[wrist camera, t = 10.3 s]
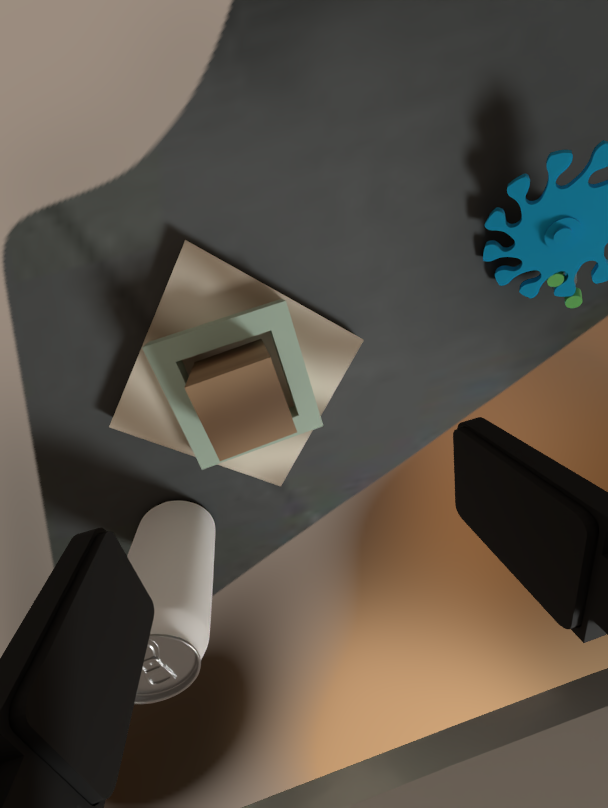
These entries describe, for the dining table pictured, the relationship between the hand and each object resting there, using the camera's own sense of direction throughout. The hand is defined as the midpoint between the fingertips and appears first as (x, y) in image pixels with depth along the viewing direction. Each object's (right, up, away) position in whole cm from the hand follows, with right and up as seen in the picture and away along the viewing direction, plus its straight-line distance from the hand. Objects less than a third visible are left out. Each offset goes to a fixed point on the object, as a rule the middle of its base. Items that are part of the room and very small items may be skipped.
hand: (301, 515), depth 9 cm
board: (-5, +5, +17) cm, 19 cm away
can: (-11, -8, +21) cm, 25 cm away
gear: (+18, +16, +19) cm, 30 cm away
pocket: (-5, +5, +16) cm, 17 cm away
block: (-5, +5, +16) cm, 17 cm away
